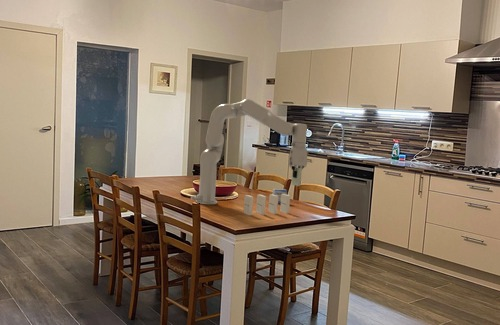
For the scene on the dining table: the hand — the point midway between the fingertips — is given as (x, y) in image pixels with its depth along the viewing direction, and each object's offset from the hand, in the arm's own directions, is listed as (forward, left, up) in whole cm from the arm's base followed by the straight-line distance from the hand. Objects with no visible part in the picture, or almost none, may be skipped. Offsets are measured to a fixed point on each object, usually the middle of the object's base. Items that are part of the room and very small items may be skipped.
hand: (296, 177), depth 278 cm
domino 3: (-15, -1, -20) cm, 25 cm away
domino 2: (-23, -1, -20) cm, 30 cm away
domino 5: (0, 0, -5) cm, 5 cm away
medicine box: (+6, +24, -20) cm, 32 cm away
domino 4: (-7, -1, -20) cm, 21 cm away
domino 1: (-31, -1, -20) cm, 37 cm away
